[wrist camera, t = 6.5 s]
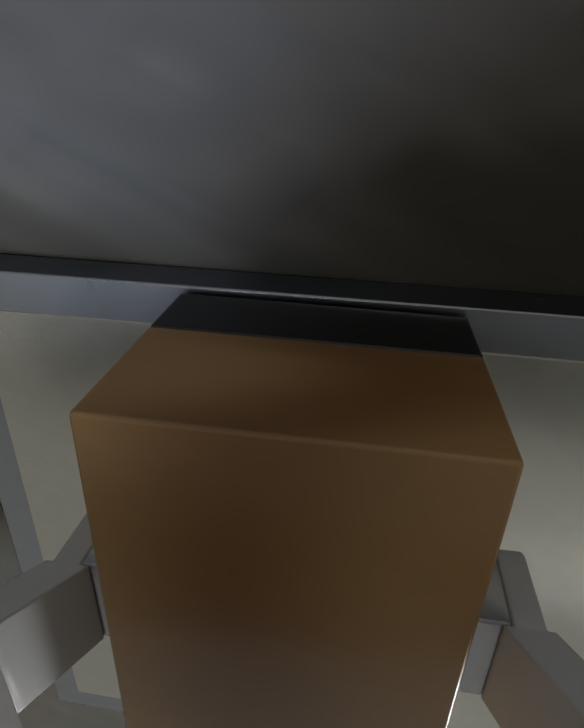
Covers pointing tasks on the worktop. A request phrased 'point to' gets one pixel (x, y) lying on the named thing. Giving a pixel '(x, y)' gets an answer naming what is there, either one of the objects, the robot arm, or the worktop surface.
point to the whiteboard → (164, 284)
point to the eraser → (294, 513)
